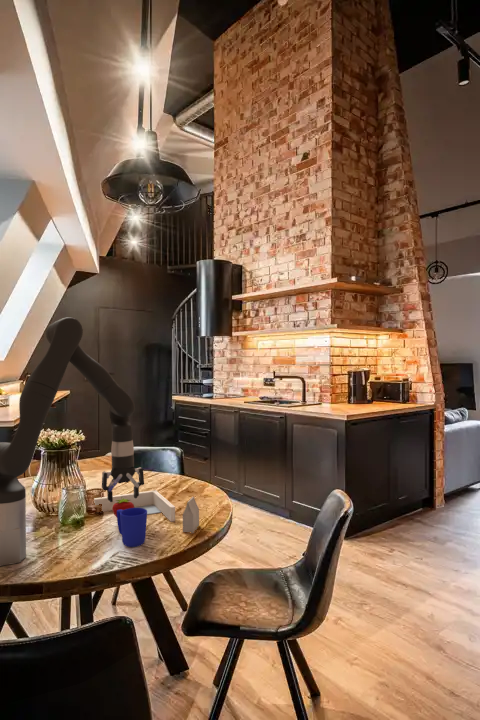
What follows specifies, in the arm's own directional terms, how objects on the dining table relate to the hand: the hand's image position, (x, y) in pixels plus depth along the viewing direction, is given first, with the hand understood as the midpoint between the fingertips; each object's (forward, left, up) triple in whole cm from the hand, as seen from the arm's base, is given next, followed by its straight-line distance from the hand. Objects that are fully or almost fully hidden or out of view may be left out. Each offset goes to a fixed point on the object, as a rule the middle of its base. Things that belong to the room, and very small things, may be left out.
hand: (123, 499), depth 164 cm
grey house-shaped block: (-16, -19, -9) cm, 26 cm away
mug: (-18, +2, -8) cm, 20 cm away
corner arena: (+6, -5, -8) cm, 11 cm away
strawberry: (0, 0, -8) cm, 8 cm away
